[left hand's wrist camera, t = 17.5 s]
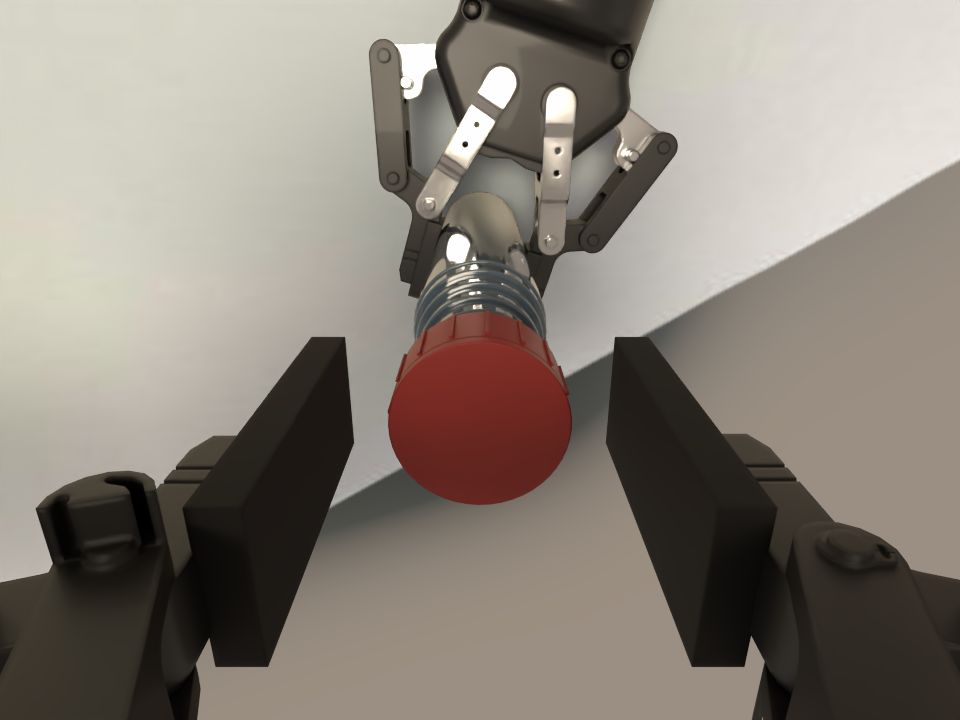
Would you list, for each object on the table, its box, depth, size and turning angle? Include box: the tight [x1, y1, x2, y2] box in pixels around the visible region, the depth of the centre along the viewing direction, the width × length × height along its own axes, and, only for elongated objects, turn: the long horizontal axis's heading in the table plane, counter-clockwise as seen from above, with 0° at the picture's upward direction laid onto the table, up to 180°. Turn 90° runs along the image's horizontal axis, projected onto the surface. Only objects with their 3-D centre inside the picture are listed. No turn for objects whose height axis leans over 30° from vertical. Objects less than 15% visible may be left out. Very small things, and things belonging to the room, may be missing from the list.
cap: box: [388, 311, 572, 505], centre depth 14 cm, size 4×4×2 cm
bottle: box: [414, 192, 546, 342], centre depth 24 cm, size 4×4×23 cm
